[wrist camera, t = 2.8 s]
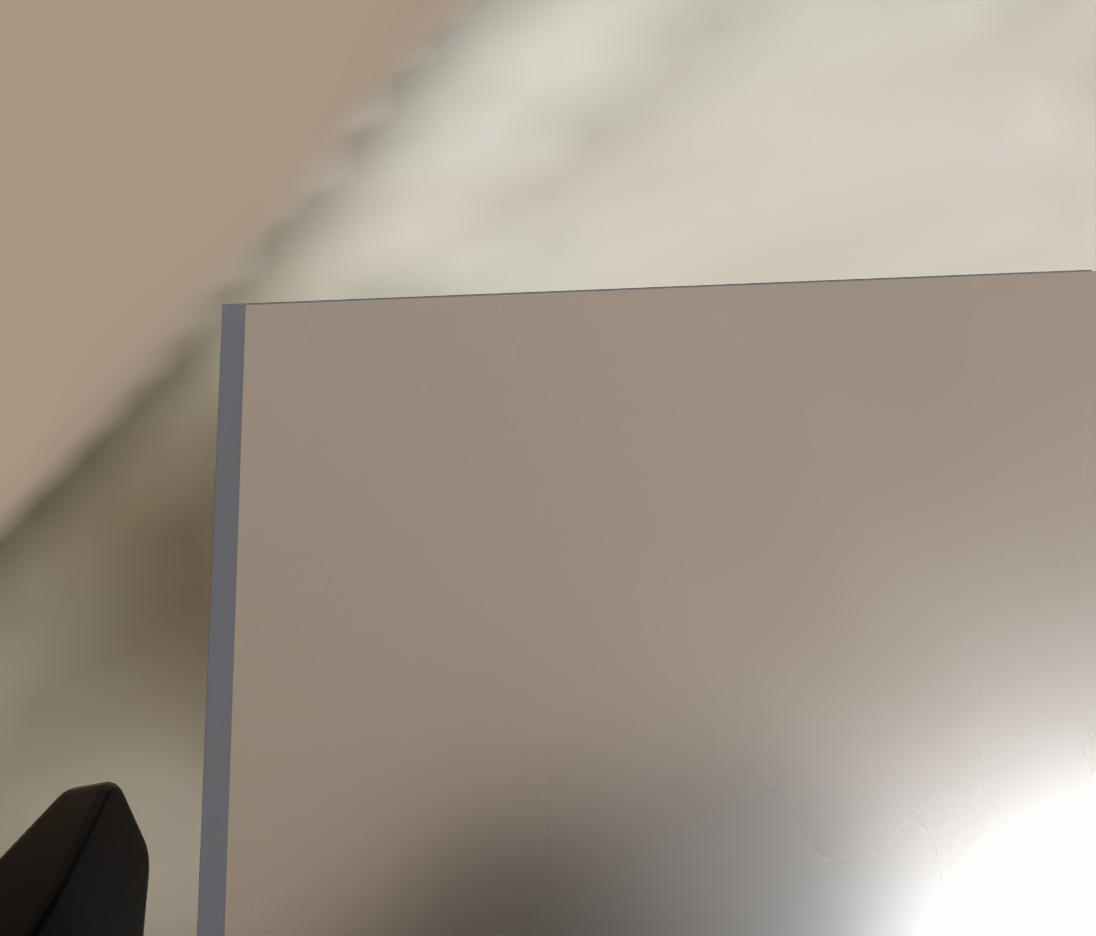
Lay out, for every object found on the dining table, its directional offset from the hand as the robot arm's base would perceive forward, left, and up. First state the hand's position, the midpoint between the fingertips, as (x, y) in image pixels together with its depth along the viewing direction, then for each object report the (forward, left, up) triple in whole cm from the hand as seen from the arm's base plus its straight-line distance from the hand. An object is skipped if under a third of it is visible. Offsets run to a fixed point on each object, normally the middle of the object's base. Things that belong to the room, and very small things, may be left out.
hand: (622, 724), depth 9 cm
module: (0, 0, -8) cm, 8 cm away
